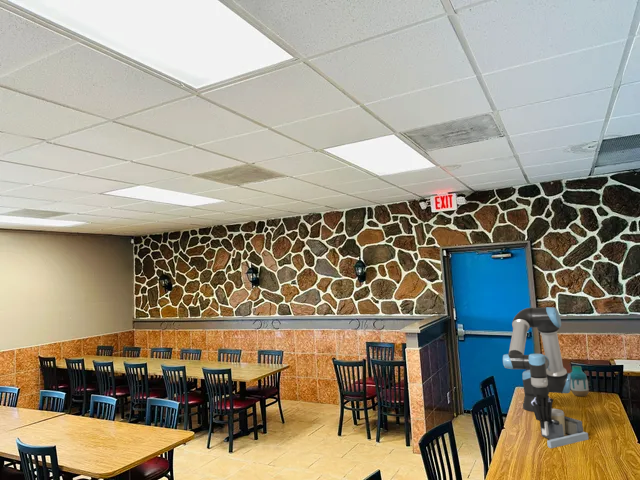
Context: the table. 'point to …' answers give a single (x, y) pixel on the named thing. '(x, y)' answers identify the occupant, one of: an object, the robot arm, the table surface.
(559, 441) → the back rail
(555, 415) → the coffee cup
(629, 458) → the table surface
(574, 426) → the block
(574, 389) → the vase
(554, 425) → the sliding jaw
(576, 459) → the table surface
